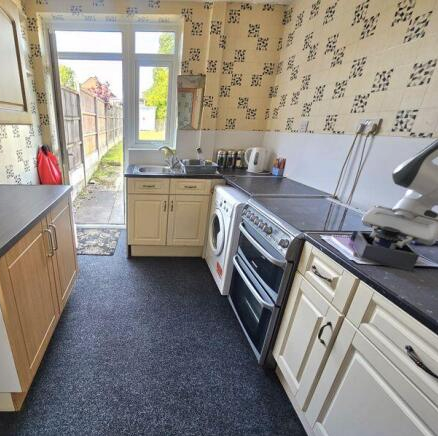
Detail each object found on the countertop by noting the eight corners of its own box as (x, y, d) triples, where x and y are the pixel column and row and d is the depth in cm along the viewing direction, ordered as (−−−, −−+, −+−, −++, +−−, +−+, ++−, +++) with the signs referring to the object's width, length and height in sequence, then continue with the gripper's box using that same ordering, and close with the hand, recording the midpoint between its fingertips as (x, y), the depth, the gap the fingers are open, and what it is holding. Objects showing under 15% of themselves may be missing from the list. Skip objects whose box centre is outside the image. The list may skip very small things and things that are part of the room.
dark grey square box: (396, 255, 93) (404, 239, 90) (410, 273, 82) (419, 255, 79) (352, 246, 99) (358, 231, 96) (359, 262, 88) (366, 244, 85)
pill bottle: (364, 253, 92) (374, 226, 88) (376, 251, 93) (387, 224, 89) (382, 261, 87) (394, 233, 83) (395, 259, 88) (407, 231, 84)
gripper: (372, 199, 95) (350, 226, 95) (450, 217, 78) (423, 250, 77) (374, 209, 98) (353, 235, 98) (448, 228, 81) (423, 259, 81)
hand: (384, 242), depth 88 cm, fingers closed on pill bottle, 6 cm apart
